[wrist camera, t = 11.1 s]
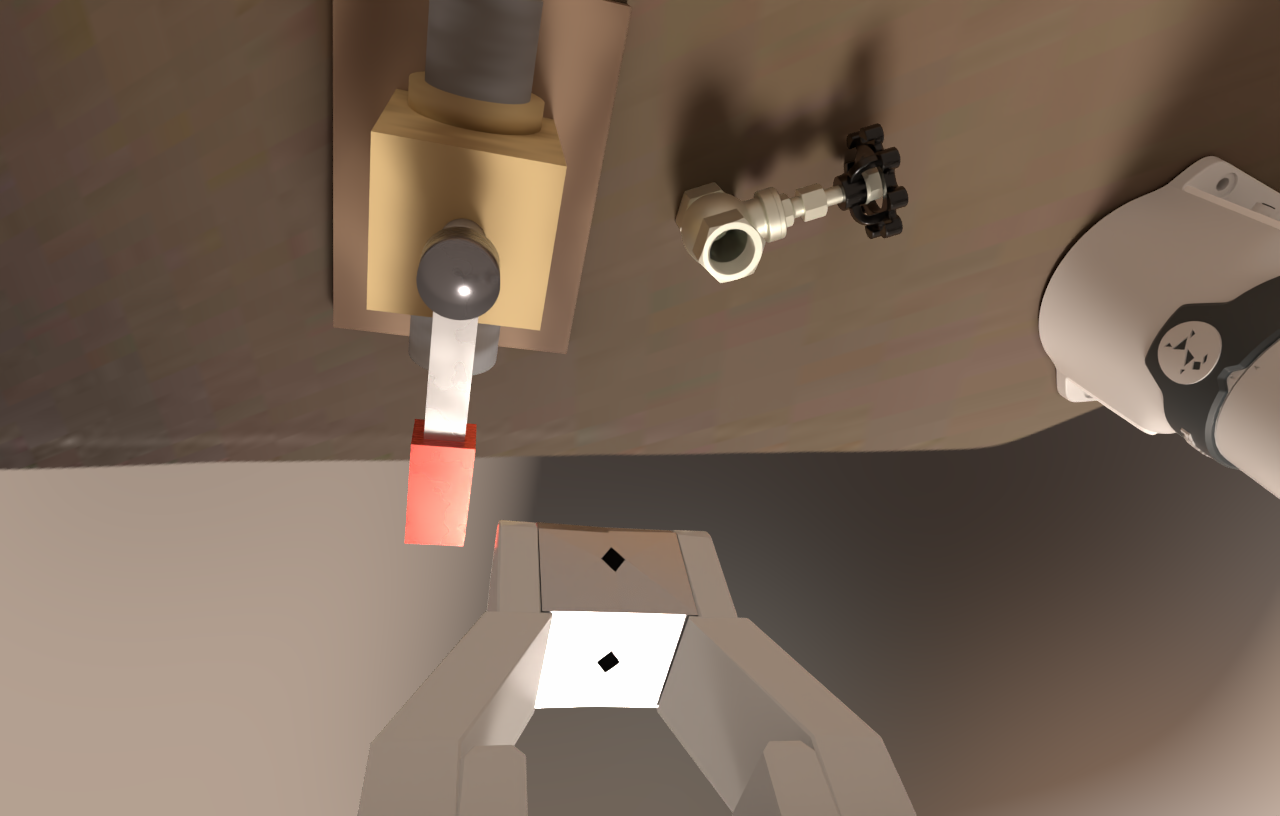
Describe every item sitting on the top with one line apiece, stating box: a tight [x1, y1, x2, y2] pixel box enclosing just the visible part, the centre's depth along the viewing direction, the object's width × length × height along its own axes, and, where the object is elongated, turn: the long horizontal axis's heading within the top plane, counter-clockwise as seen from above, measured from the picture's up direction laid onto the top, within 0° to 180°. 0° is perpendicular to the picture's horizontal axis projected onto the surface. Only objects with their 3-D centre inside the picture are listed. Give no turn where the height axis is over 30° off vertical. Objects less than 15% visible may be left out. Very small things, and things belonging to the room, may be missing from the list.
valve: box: [675, 123, 908, 283], centre depth 42 cm, size 7×7×12 cm
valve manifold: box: [333, 0, 632, 375], centre depth 36 cm, size 14×20×13 cm
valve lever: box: [405, 227, 500, 546], centre depth 33 cm, size 16×3×2 cm, turn 168°
